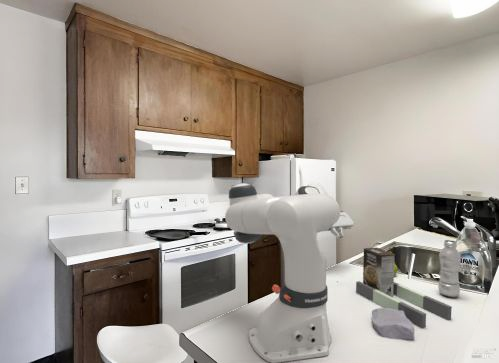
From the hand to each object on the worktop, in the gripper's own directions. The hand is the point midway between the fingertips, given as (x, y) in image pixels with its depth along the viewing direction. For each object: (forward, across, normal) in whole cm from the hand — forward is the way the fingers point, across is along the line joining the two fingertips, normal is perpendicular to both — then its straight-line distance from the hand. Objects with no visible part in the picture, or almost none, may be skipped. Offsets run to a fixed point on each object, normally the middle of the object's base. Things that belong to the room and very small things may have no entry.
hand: (340, 237), depth 122 cm
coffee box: (+26, 0, +3) cm, 26 cm away
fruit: (+18, -20, -6) cm, 27 cm away
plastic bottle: (+34, -23, +11) cm, 42 cm away
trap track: (+32, 0, +9) cm, 34 cm away
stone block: (+39, +15, +15) cm, 45 cm away
